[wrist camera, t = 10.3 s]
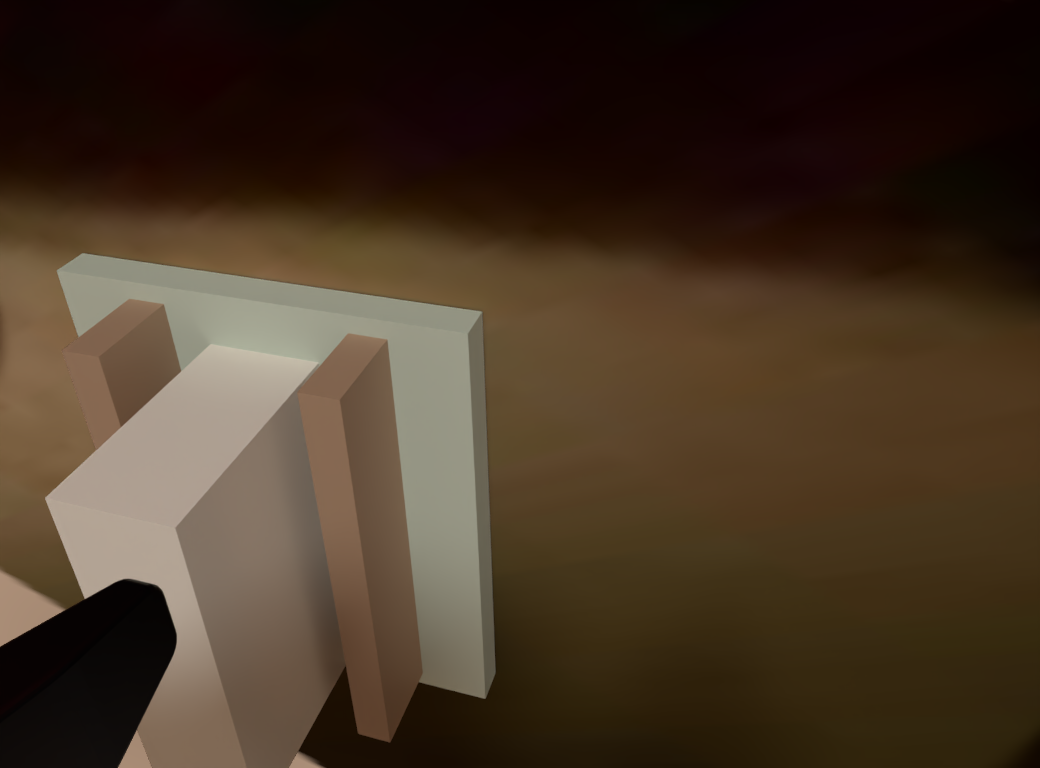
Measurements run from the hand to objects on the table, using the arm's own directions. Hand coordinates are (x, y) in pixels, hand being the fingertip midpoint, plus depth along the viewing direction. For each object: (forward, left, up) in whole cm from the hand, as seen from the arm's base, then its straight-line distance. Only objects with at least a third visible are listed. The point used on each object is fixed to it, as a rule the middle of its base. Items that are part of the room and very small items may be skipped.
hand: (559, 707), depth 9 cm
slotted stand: (+10, +10, -12) cm, 19 cm away
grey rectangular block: (+10, +10, -11) cm, 18 cm away
